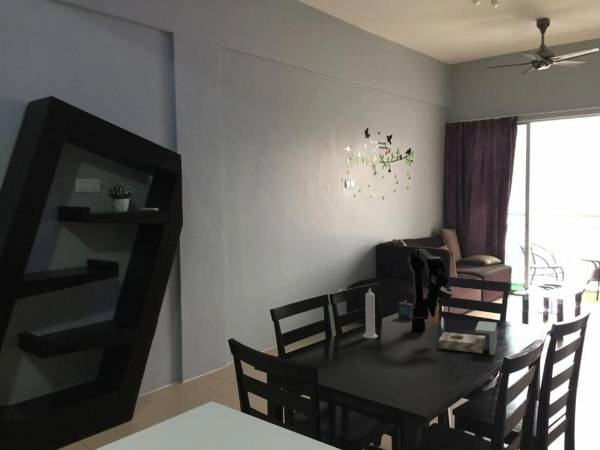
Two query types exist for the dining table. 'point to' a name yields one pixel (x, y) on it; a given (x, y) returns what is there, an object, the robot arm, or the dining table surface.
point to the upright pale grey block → (490, 329)
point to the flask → (404, 310)
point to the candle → (370, 315)
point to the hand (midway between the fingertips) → (434, 315)
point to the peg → (435, 318)
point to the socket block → (462, 342)
